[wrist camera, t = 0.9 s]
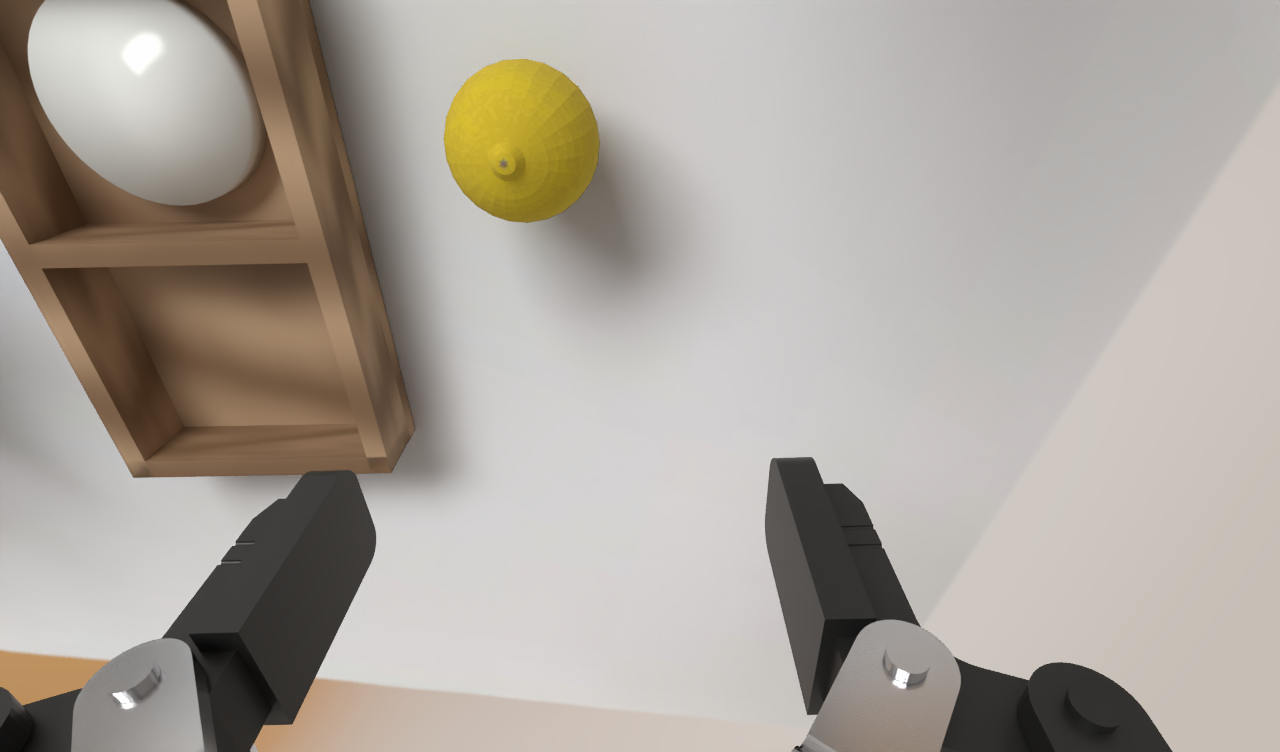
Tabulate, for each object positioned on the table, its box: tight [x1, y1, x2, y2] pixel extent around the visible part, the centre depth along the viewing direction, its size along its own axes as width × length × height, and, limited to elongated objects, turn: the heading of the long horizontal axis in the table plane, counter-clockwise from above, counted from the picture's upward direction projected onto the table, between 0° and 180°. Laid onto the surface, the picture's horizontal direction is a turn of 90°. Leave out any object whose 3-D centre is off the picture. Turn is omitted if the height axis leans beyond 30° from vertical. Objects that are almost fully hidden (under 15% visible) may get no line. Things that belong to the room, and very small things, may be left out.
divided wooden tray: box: [0, 0, 415, 478], centre depth 26 cm, size 23×13×4 cm, turn 1°
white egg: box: [28, 0, 267, 206], centre depth 24 cm, size 8×8×1 cm
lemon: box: [444, 59, 600, 223], centre depth 23 cm, size 6×6×8 cm
